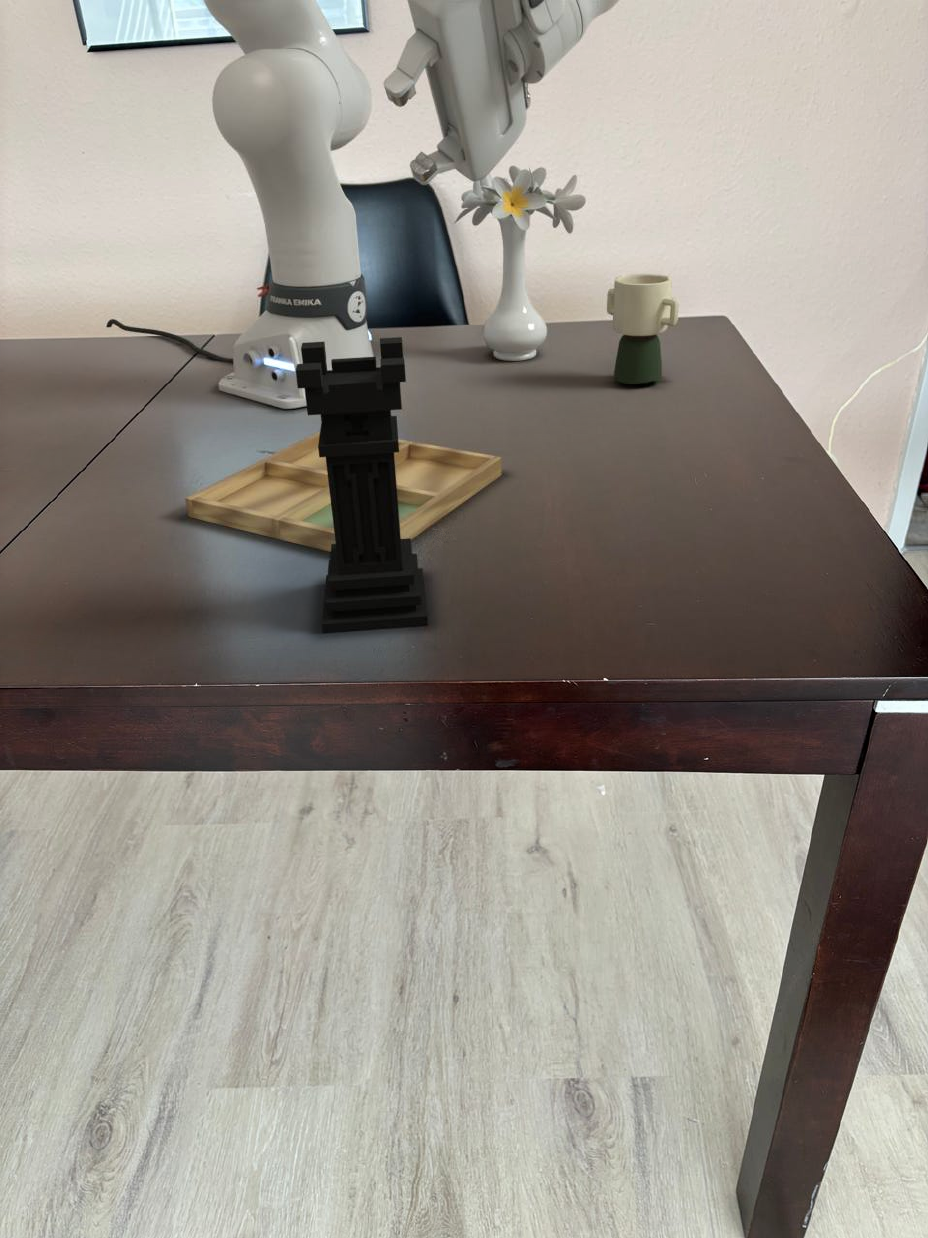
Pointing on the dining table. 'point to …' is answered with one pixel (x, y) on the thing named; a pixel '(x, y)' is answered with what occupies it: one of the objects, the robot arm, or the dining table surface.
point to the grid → (300, 498)
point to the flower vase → (517, 252)
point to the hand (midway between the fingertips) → (404, 138)
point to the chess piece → (363, 489)
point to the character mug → (641, 324)
